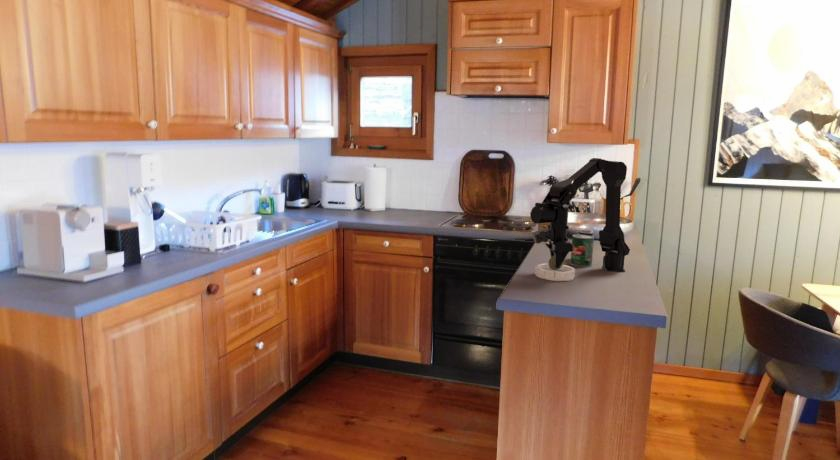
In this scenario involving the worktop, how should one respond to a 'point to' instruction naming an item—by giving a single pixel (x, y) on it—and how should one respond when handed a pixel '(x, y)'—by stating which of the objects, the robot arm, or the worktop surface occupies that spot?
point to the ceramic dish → (555, 273)
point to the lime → (553, 263)
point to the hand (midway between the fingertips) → (555, 266)
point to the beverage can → (586, 231)
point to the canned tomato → (582, 250)
